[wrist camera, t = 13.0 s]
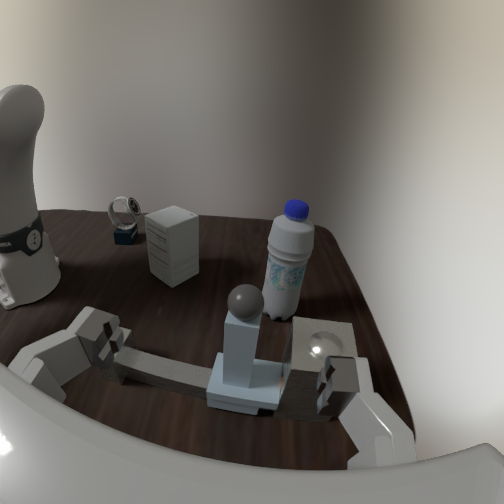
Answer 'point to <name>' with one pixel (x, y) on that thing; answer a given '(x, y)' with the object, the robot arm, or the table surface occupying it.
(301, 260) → the bottle
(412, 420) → the table surface
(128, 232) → the watch
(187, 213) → the supplement box
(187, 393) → the grey slide rail
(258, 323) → the ball-topped pillar
